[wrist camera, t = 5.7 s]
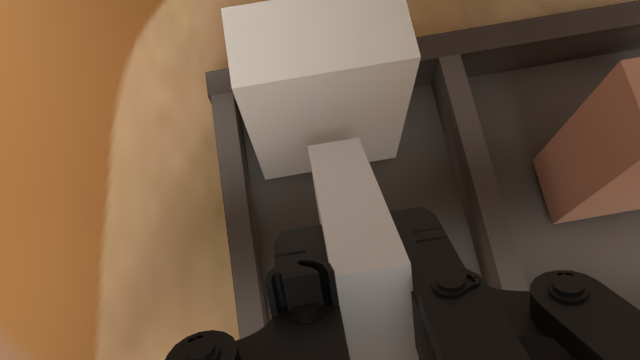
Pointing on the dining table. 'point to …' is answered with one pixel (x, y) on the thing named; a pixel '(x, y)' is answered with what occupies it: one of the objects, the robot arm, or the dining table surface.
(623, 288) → the grey compartment tray
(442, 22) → the dining table surface
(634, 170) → the key terracotta
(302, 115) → the key offwhite
